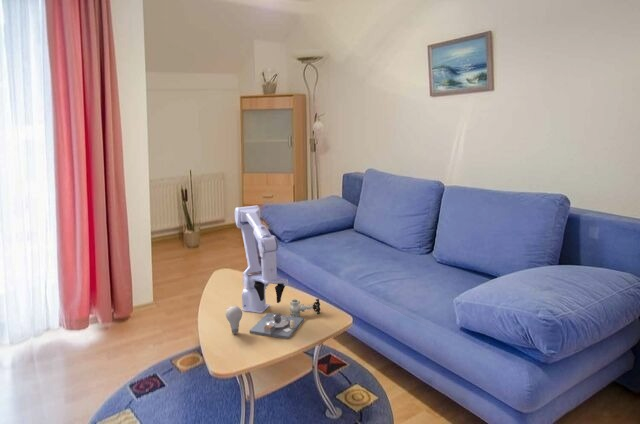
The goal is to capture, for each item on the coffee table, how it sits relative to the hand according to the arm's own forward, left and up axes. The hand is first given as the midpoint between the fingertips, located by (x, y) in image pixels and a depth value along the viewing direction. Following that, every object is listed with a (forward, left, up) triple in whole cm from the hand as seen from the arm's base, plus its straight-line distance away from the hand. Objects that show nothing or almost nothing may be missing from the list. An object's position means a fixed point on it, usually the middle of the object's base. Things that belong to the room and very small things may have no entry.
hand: (270, 300), depth 176 cm
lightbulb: (-10, -11, -10) cm, 18 cm away
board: (+3, -1, -10) cm, 10 cm away
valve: (+10, +12, -10) cm, 18 cm away
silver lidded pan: (+3, -3, -9) cm, 10 cm away
